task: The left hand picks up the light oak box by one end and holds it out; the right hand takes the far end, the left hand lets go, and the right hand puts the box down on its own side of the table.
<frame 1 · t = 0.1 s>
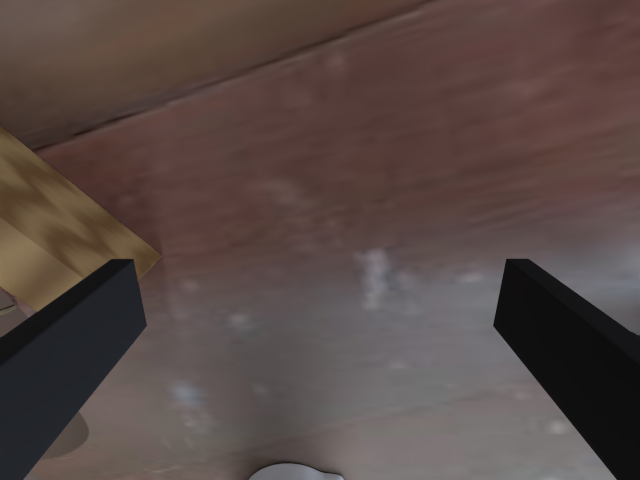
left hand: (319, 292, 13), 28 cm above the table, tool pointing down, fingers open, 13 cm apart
box: (54, 198, 40), on the table
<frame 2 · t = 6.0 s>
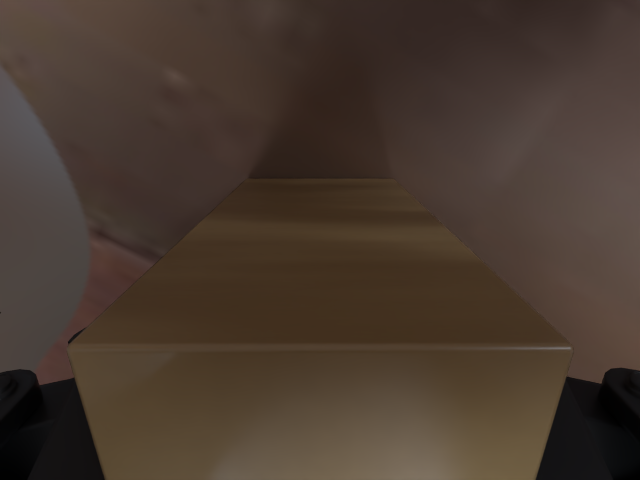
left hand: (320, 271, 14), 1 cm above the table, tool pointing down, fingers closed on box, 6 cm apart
box: (320, 422, 19), on the table, touching left hand
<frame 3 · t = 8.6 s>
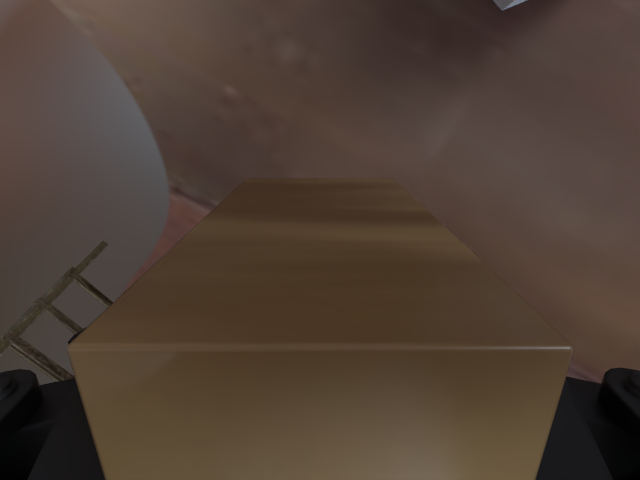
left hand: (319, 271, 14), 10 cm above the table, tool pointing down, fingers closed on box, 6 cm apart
box: (320, 422, 19), point 9 cm above the table, touching left hand
miniature windmill: (115, 310, 27), on the table
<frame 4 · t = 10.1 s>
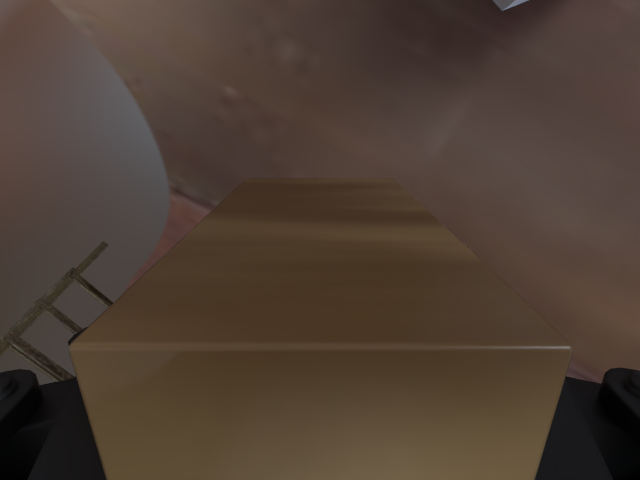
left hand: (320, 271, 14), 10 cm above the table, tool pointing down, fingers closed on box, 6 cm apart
box: (319, 421, 19), point 9 cm above the table, touching left hand, right hand
miniature windmill: (116, 310, 27), on the table
when the left hand's fingers open (10 cm above the table, at t = 11.2 s): box stays where it is, held by the right hand.
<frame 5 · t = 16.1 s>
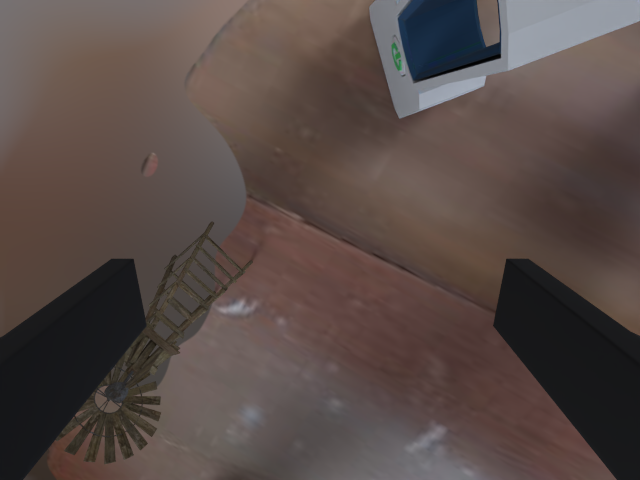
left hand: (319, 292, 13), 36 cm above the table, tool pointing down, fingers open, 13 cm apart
miniature windmill: (213, 258, 51), on the table
electronic device: (410, 55, 42), on the table
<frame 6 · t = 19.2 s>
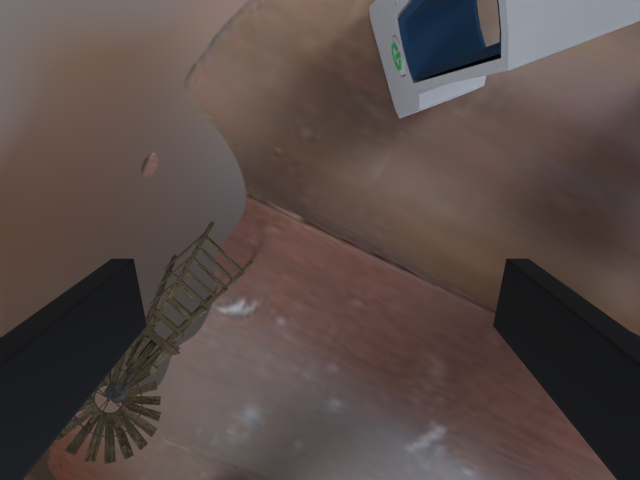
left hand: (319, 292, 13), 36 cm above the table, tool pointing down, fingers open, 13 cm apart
miniature windmill: (213, 258, 51), on the table
electronic device: (410, 55, 42), on the table
when the right hand's fingers open (7 cm above the table, at t = 22.2 s): box stays where it is, on the table.
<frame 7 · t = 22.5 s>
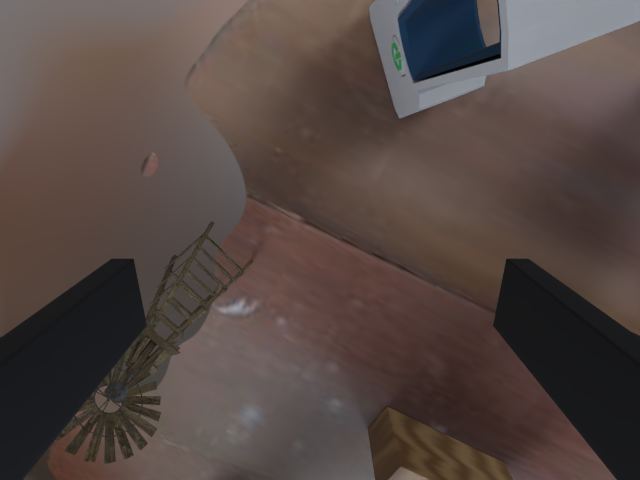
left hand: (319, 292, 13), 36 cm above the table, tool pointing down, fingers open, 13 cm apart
box: (437, 446, 64), on the table
miniature windmill: (213, 258, 51), on the table
electronic device: (410, 55, 42), on the table
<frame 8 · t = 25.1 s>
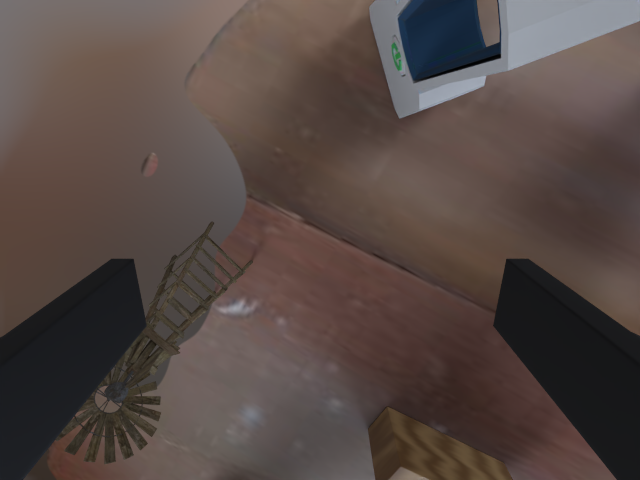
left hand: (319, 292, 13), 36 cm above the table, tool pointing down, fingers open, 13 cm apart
box: (437, 446, 64), on the table
miniature windmill: (213, 258, 51), on the table
electronic device: (410, 55, 42), on the table
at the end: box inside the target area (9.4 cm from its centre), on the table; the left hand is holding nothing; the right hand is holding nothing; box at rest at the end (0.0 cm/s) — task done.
